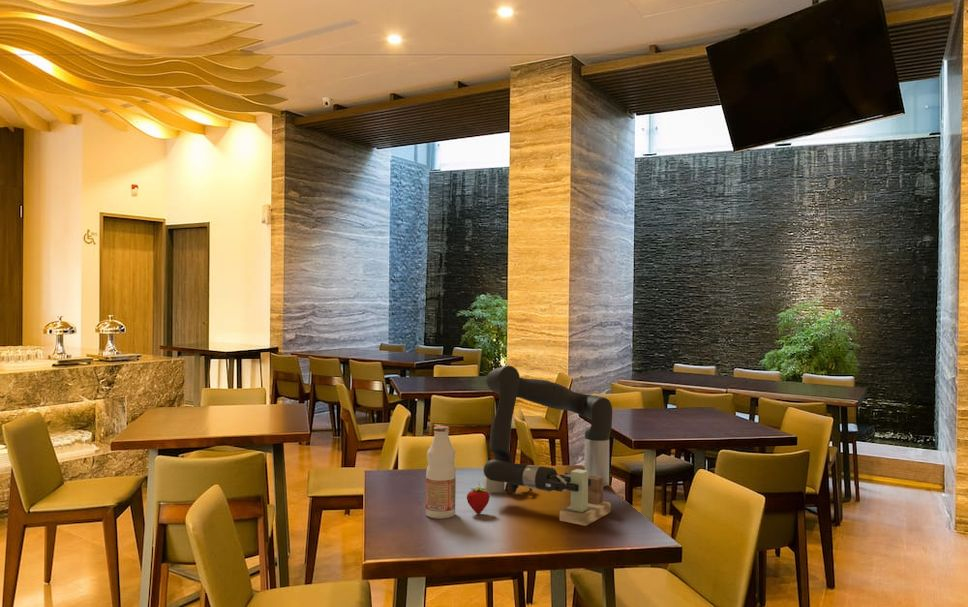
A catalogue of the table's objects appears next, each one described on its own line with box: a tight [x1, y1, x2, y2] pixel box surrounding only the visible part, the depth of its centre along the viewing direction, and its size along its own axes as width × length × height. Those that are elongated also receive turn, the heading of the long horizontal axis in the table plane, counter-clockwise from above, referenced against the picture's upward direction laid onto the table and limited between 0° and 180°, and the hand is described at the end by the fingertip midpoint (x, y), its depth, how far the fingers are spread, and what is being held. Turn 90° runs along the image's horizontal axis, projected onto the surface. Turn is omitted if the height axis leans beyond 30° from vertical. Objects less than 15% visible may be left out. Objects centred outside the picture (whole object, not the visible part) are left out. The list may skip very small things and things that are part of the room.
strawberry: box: [466, 481, 490, 515], centre depth 220 cm, size 6×8×10 cm
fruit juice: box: [425, 425, 457, 520], centre depth 219 cm, size 9×9×28 cm
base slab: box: [559, 476, 612, 527], centre depth 219 cm, size 18×9×11 cm, turn 145°
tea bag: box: [483, 473, 505, 494], centre depth 248 cm, size 4×7×10 cm, turn 105°
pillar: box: [570, 468, 588, 512], centre depth 215 cm, size 4×4×12 cm
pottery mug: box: [503, 482, 533, 496], centre depth 245 cm, size 12×10×8 cm
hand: (584, 485), depth 214 cm, fingers open, 8 cm apart
